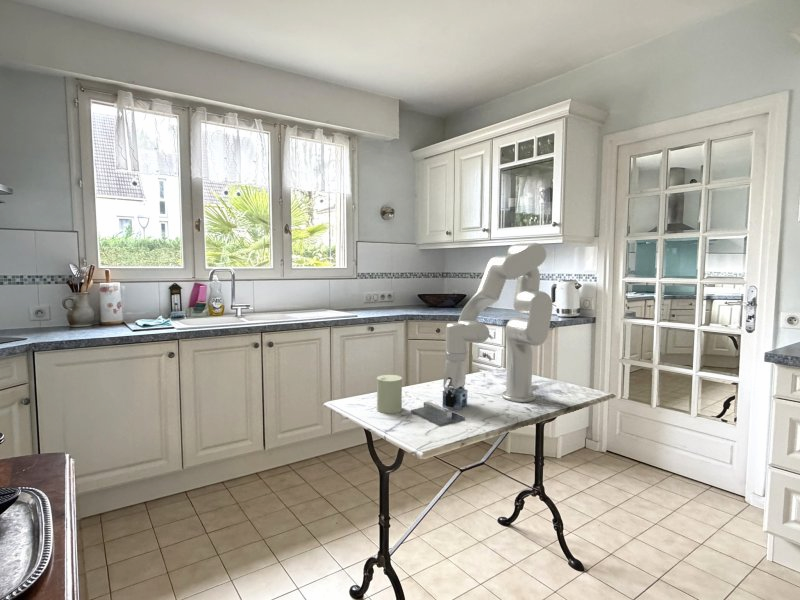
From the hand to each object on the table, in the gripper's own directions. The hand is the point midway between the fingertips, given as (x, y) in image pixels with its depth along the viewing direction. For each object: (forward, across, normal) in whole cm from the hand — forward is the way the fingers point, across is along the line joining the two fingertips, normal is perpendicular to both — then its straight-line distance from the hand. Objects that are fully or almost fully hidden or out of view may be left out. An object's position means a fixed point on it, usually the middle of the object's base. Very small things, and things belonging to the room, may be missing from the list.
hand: (454, 403), depth 165 cm
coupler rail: (+1, +13, -1) cm, 13 cm away
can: (+1, +15, -19) cm, 24 cm away
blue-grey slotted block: (+1, 0, 0) cm, 1 cm away
